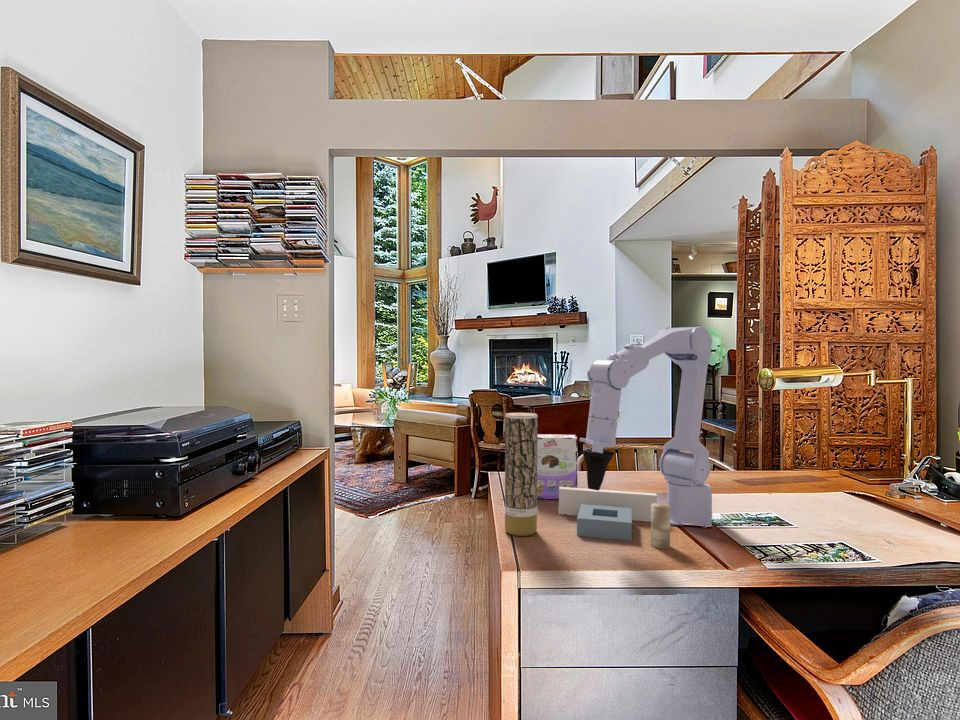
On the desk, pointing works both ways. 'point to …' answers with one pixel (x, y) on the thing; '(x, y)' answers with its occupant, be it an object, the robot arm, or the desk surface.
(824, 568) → the desk surface
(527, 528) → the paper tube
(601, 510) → the socket block
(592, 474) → the robot arm
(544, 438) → the candy box
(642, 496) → the wall
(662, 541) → the dowel
